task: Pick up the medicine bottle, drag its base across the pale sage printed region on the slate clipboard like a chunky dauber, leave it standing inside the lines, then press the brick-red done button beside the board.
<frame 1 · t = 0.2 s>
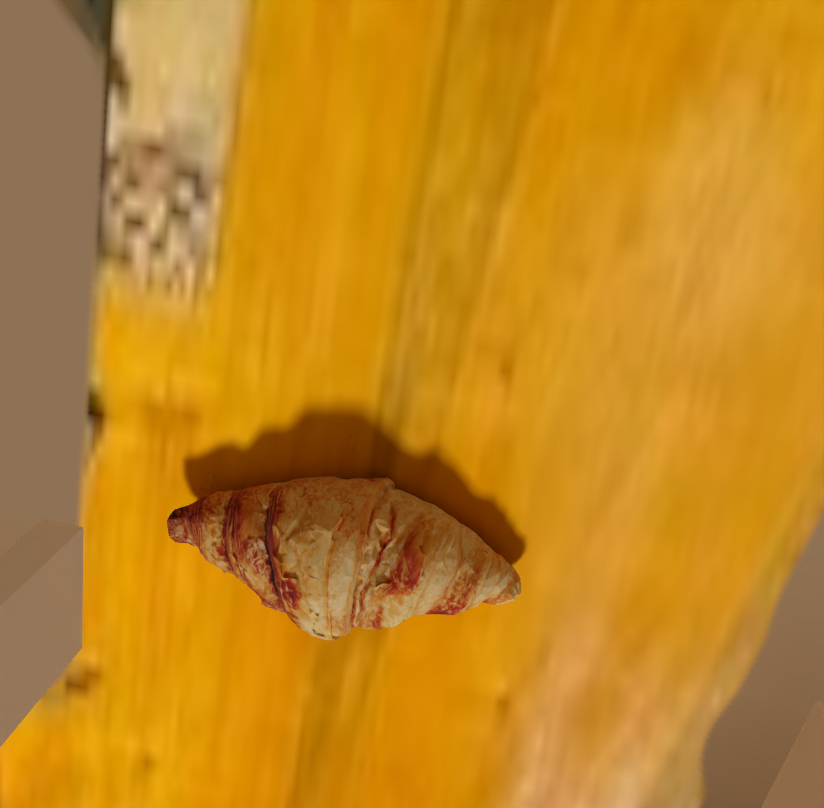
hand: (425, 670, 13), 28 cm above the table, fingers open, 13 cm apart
croissant: (352, 536, 46), on the table
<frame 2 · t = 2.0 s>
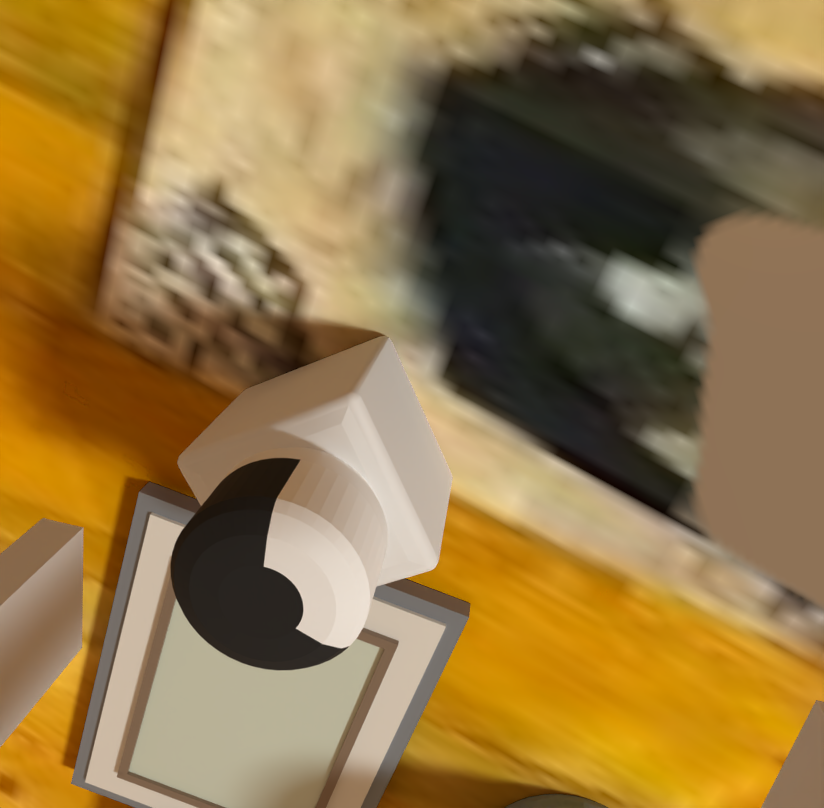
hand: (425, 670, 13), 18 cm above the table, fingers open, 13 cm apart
medicine bottle: (349, 431, 32), on the table
picture board: (256, 694, 38), on the table
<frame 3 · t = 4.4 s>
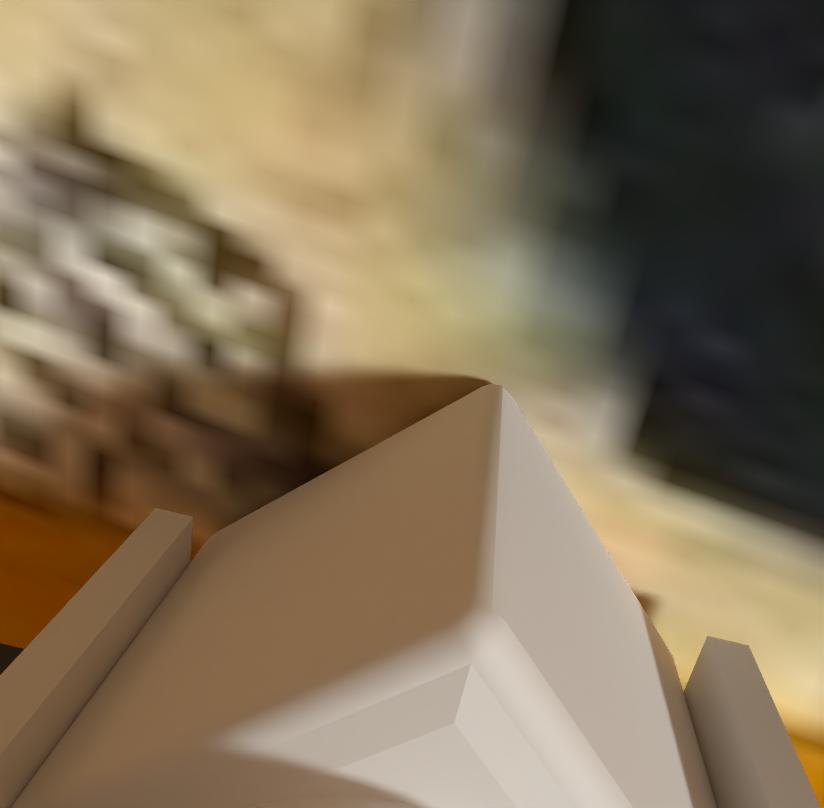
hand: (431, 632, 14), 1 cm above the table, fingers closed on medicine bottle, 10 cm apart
medicine bottle: (438, 588, 15), on the table, touching gripper
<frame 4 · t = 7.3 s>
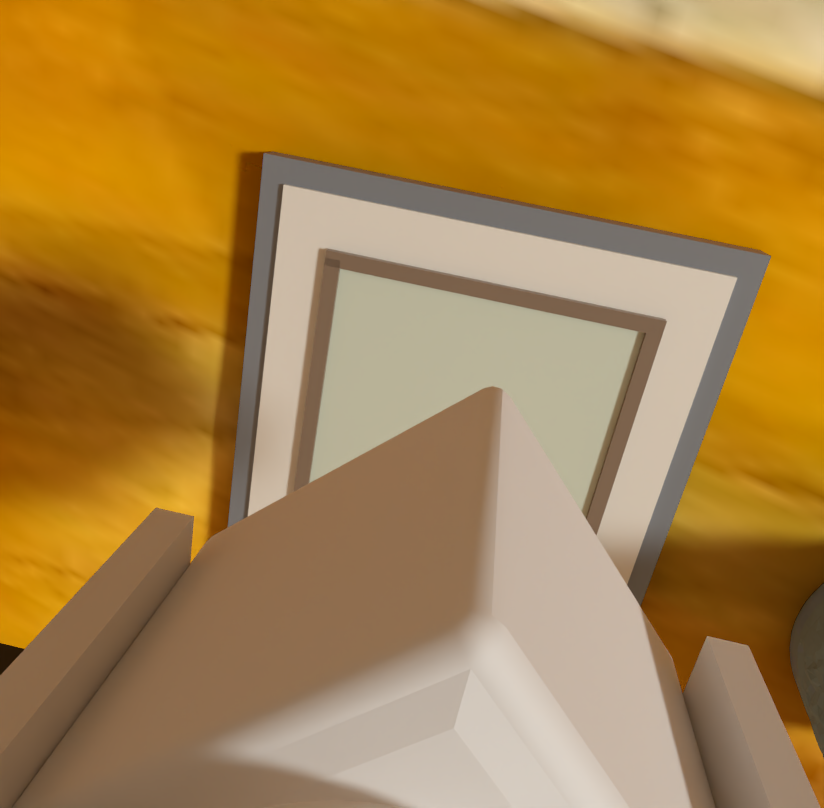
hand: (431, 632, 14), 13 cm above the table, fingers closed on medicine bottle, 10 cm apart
medicine bottle: (438, 590, 15), point 12 cm above the table, touching gripper
picture board: (451, 470, 27), on the table
when the fingers open (3 cm above the table, at t = 10.5 s): medicine bottle stays where it is, resting on picture board.
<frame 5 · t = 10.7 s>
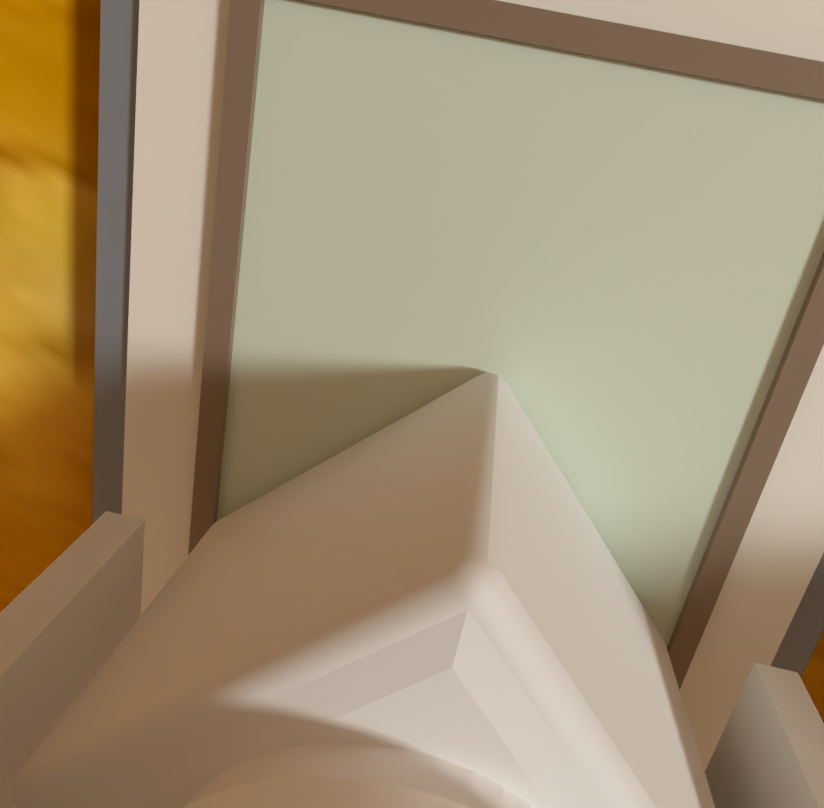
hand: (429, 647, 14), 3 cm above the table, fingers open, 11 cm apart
medicine bottle: (436, 576, 16), point 1 cm above the table, touching picture board
picture board: (476, 414, 16), on the table
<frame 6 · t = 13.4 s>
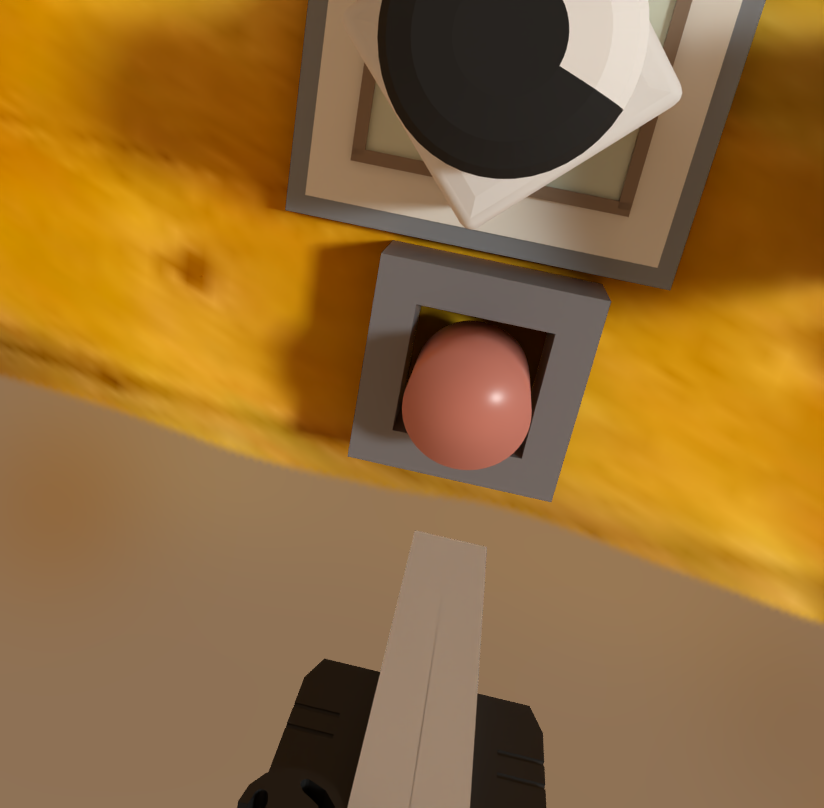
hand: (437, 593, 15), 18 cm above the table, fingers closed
medicine bottle: (510, 73, 27), point 1 cm above the table, touching picture board
done button: (469, 392, 29), point 4 cm above the table, slide at 0.0 cm
button housing: (474, 360, 33), on the table
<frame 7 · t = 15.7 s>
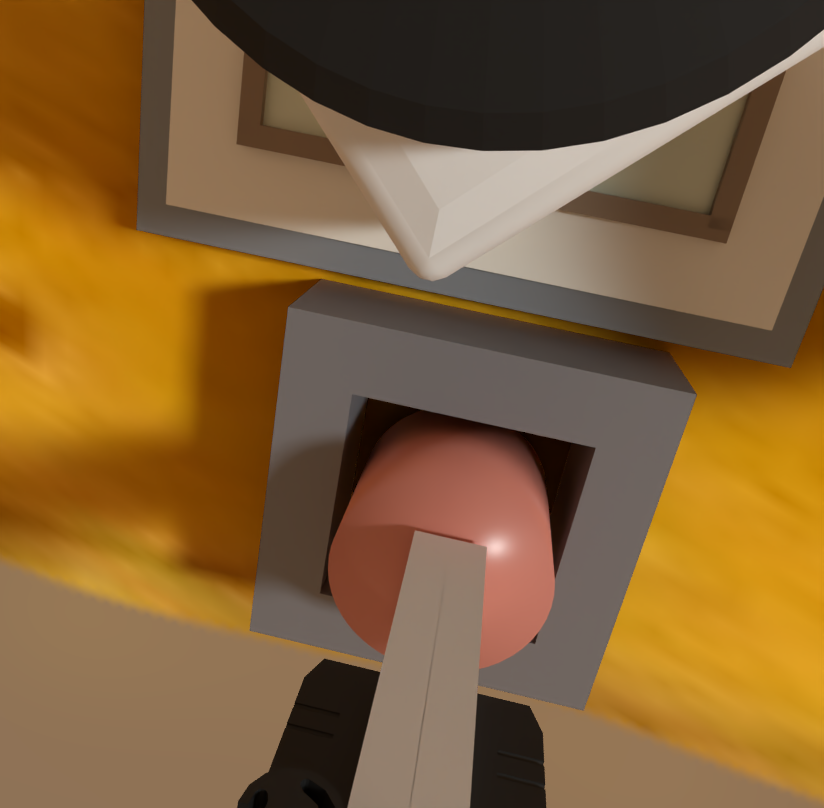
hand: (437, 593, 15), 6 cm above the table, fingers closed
done button: (447, 531, 17), point 3 cm above the table, slide at 0.7 cm, touching gripper
button housing: (457, 469, 20), on the table
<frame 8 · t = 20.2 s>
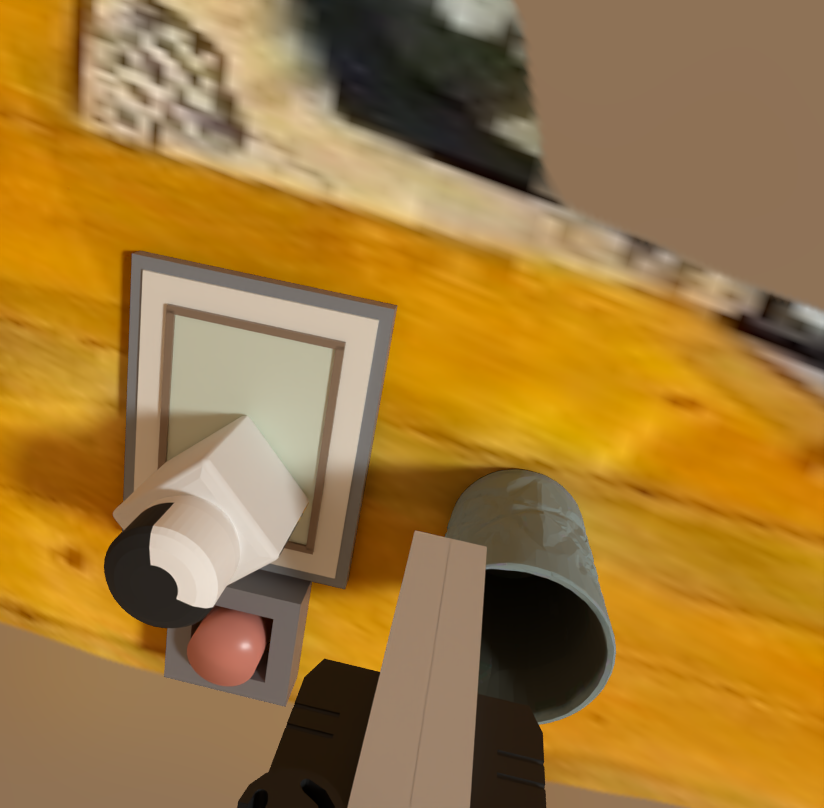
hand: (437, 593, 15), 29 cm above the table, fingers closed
medicine bottle: (238, 480, 48), point 1 cm above the table, touching picture board
grey cylindrical container: (512, 526, 48), on the table
done button: (232, 638, 51), point 3 cm above the table, slide at 1.4 cm
button housing: (244, 614, 53), on the table
picture board: (251, 427, 48), on the table
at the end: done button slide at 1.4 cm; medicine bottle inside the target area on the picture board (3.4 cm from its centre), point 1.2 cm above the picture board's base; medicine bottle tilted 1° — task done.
